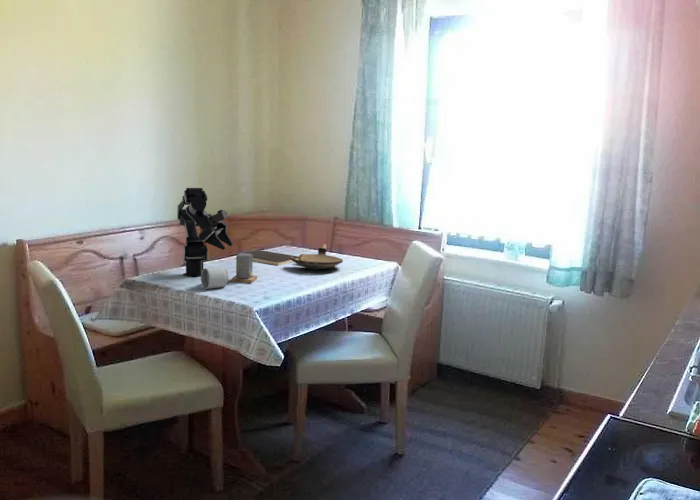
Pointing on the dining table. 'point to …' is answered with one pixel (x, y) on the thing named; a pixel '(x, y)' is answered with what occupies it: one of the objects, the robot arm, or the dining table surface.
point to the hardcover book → (271, 257)
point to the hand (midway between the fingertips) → (228, 247)
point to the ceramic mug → (214, 278)
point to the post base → (244, 279)
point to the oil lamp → (317, 260)
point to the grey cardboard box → (244, 265)
